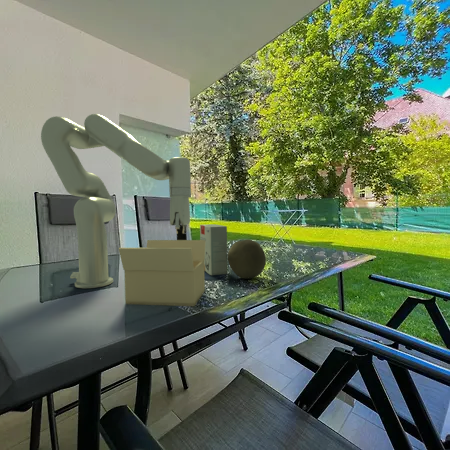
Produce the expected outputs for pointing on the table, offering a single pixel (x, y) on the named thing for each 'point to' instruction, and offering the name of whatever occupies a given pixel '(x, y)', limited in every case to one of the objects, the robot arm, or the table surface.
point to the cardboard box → (165, 286)
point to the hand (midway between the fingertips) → (182, 244)
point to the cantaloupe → (246, 259)
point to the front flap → (157, 259)
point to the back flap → (182, 246)
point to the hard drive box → (215, 248)
